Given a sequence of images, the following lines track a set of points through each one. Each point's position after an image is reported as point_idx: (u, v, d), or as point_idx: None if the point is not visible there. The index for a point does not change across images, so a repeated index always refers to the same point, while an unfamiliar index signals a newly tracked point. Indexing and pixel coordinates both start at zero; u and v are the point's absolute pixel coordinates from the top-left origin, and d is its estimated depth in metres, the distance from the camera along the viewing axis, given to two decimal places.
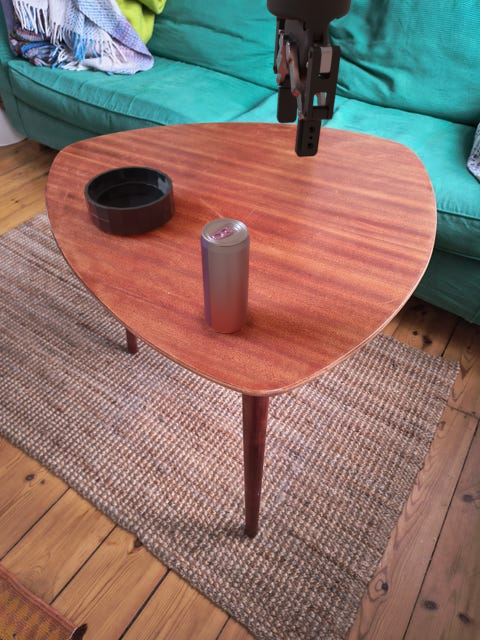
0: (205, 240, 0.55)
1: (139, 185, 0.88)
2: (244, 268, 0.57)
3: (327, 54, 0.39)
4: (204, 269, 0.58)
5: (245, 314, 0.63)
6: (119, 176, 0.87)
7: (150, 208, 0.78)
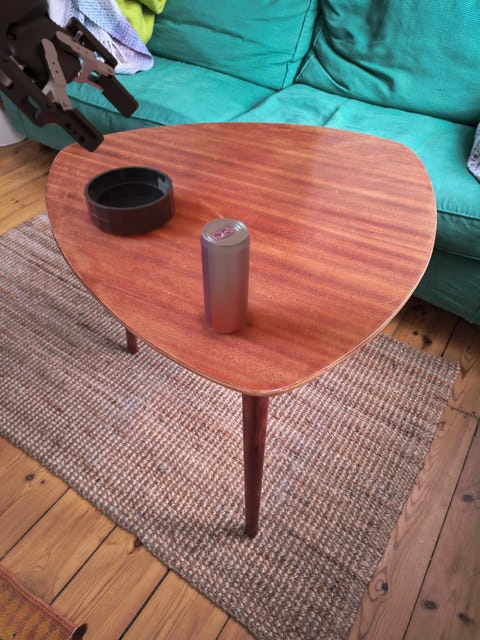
0: (205, 240, 0.55)
1: (139, 185, 0.88)
2: (244, 268, 0.57)
3: None
4: (204, 269, 0.58)
5: (245, 314, 0.63)
6: (119, 176, 0.87)
7: (150, 208, 0.78)
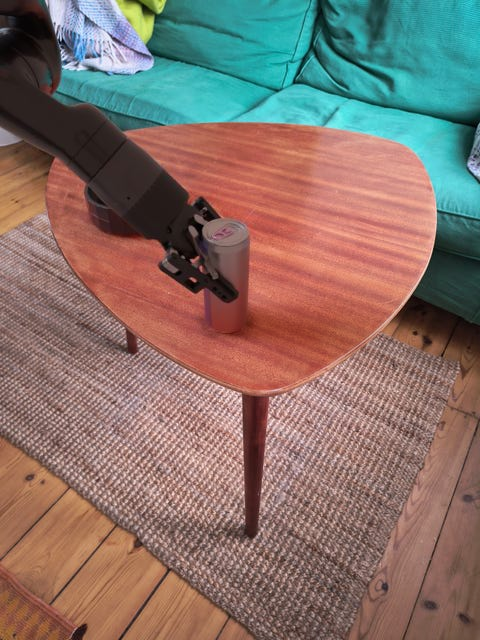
0: (205, 240, 0.55)
1: None
2: (245, 268, 0.57)
3: None
4: (204, 269, 0.58)
5: (245, 314, 0.63)
6: None
7: None
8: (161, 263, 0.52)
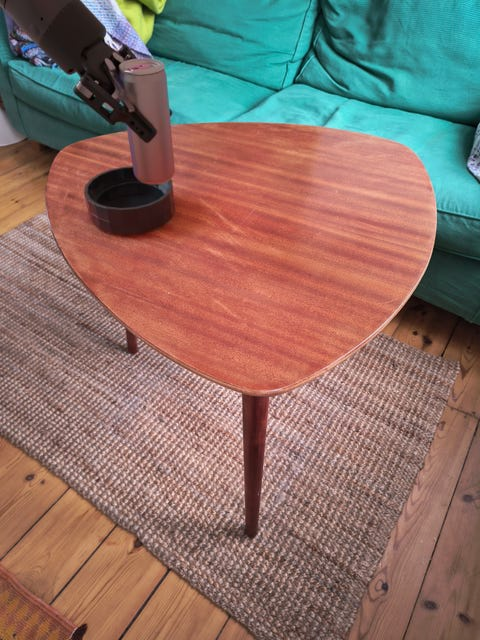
0: (121, 71, 0.57)
1: (139, 185, 0.88)
2: (162, 106, 0.60)
3: None
4: None
5: (170, 165, 0.66)
6: (119, 176, 0.87)
7: (150, 208, 0.78)
8: (75, 86, 0.55)
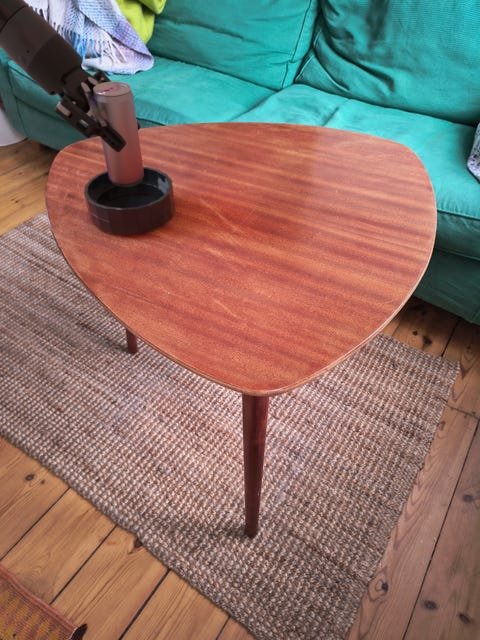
0: (94, 93, 0.69)
1: (139, 185, 0.88)
2: (130, 121, 0.72)
3: None
4: None
5: (139, 170, 0.78)
6: None
7: (150, 208, 0.78)
8: (56, 106, 0.67)
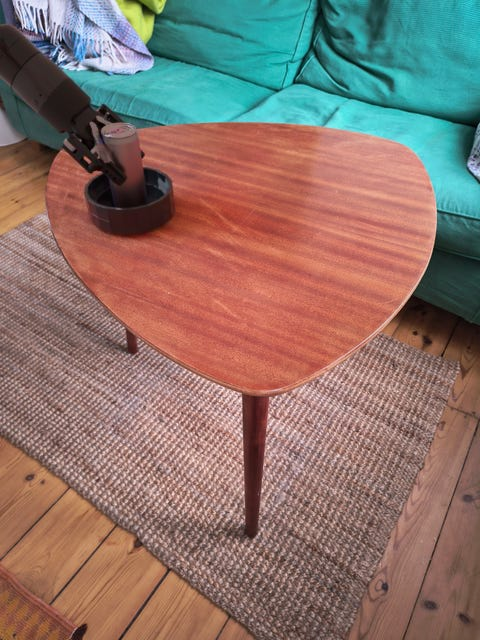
0: (102, 135, 0.74)
1: None
2: (135, 160, 0.76)
3: None
4: None
5: (144, 203, 0.82)
6: None
7: (150, 208, 0.78)
8: (63, 142, 0.71)
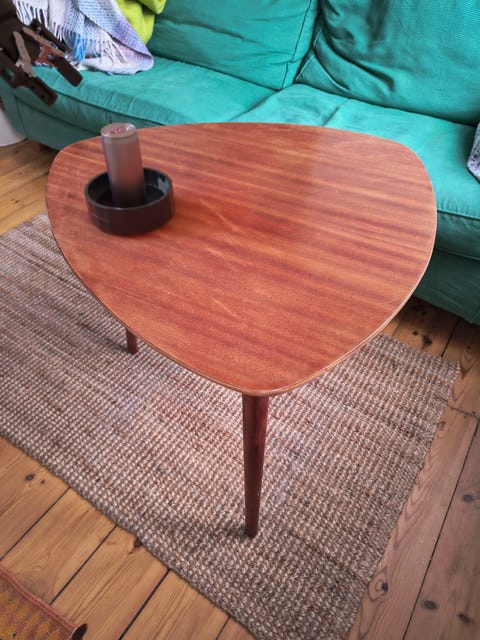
0: (102, 135, 0.74)
1: None
2: (135, 160, 0.76)
3: None
4: (106, 161, 0.77)
5: (144, 203, 0.82)
6: None
7: (150, 208, 0.78)
8: None
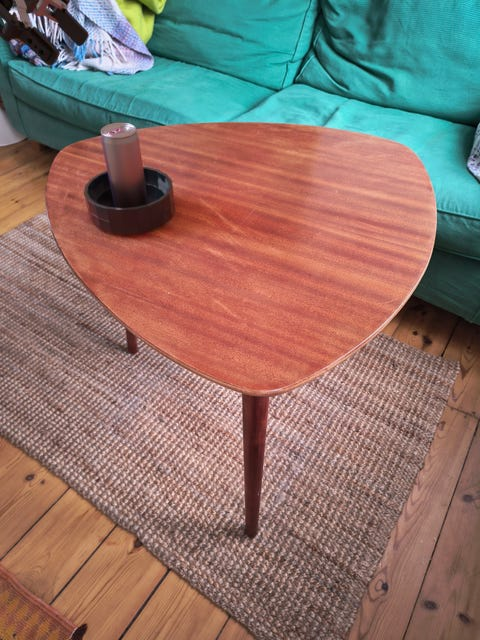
0: (102, 135, 0.74)
1: None
2: (135, 160, 0.76)
3: None
4: (106, 161, 0.77)
5: (144, 203, 0.82)
6: None
7: (150, 208, 0.78)
8: None
